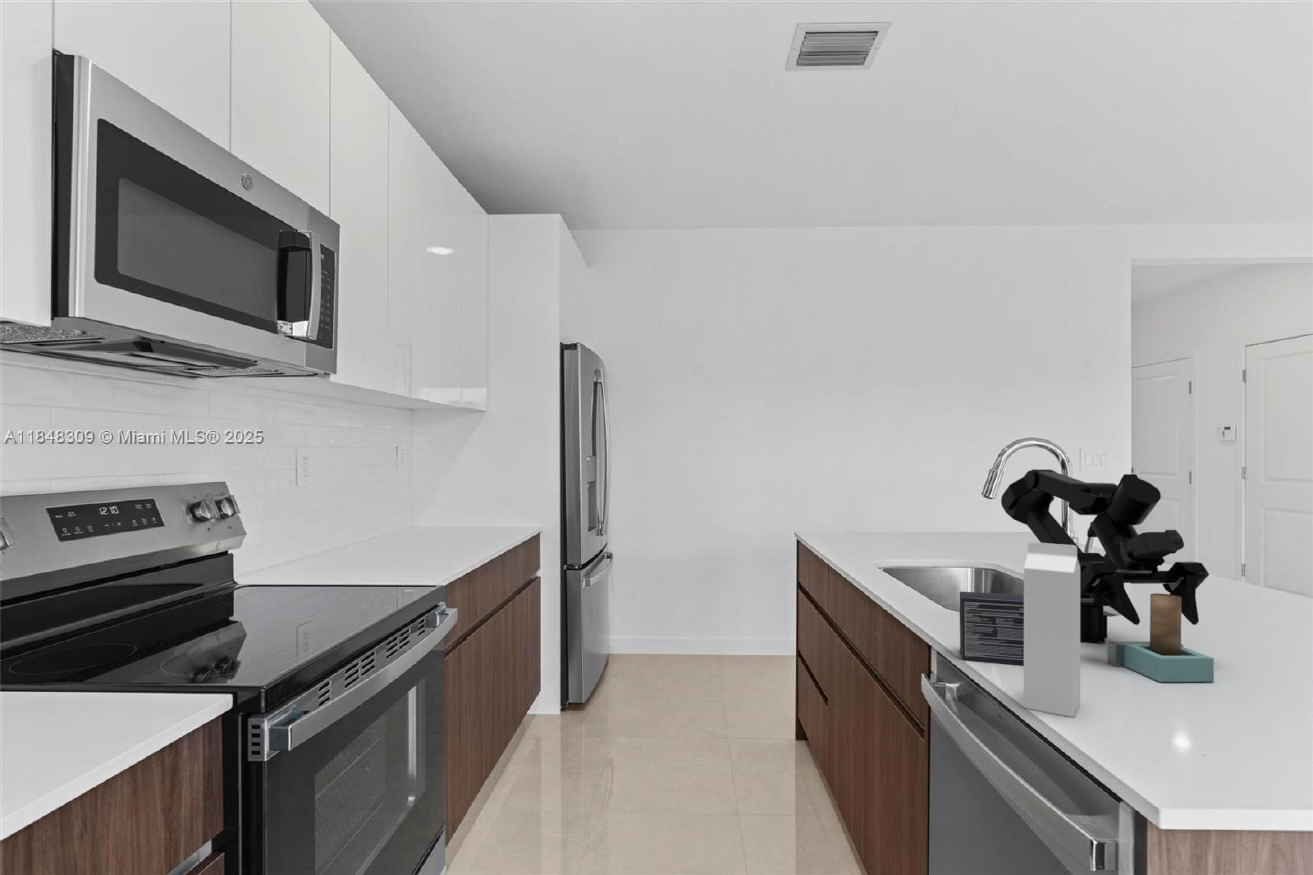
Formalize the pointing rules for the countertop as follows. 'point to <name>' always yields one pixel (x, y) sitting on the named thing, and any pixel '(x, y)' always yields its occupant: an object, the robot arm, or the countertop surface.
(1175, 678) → the teal square frame
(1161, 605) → the dowel
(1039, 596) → the milk
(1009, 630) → the small box
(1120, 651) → the bar
